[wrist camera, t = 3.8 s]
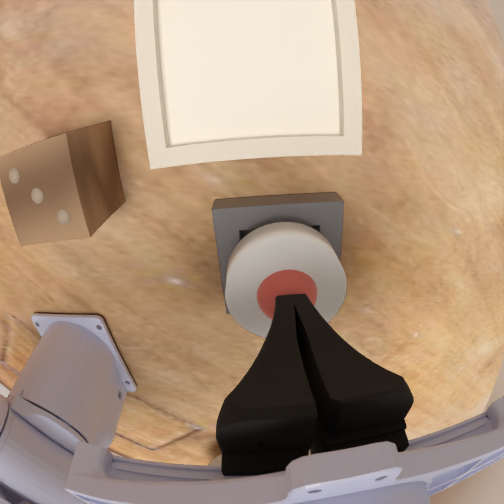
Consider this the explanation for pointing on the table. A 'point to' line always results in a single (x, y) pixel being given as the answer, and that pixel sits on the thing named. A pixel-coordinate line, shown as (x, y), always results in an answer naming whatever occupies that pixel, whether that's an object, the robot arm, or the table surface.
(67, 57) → the table surface
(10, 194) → the die
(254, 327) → the dome
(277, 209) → the grey button base
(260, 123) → the die pad
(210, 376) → the table surface
